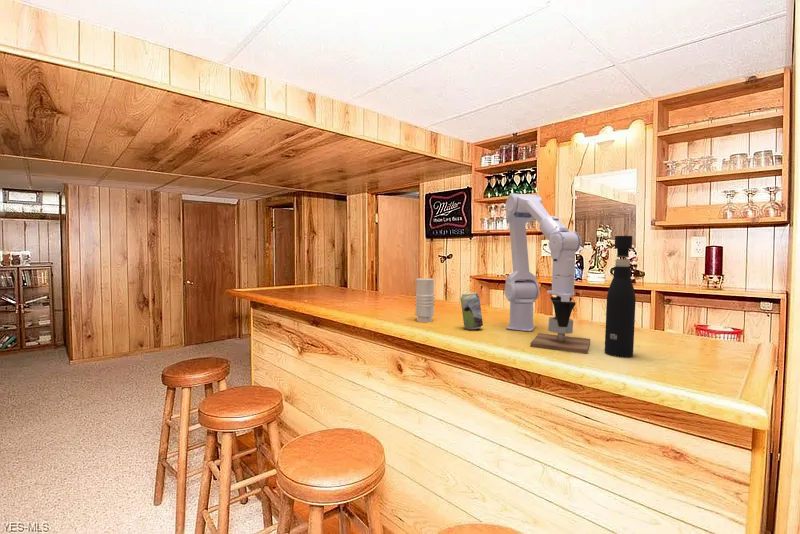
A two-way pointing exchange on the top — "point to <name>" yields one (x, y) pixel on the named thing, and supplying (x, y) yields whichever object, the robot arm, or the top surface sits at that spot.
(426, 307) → the grey ribbed cylinder
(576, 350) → the stand
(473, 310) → the beverage can
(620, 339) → the black water bottle
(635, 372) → the top surface
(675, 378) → the top surface
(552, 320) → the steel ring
